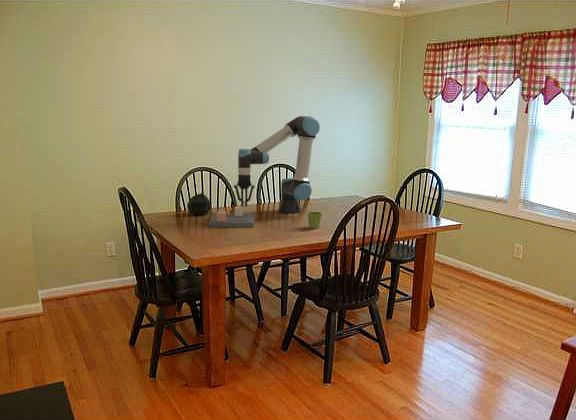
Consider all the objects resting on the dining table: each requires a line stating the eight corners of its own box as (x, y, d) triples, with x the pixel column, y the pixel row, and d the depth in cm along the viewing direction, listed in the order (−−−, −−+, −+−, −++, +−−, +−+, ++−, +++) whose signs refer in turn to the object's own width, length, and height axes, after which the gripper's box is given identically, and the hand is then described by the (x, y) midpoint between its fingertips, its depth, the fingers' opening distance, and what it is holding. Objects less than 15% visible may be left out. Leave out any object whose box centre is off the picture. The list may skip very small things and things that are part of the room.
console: (254, 218, 321) (254, 213, 321) (253, 227, 298) (253, 222, 297) (212, 218, 320) (212, 213, 319) (209, 227, 296) (209, 222, 296)
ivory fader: (243, 214, 318) (243, 206, 317) (242, 216, 312) (242, 208, 311) (235, 214, 318) (235, 206, 317) (234, 216, 312) (234, 208, 311)
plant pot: (311, 229, 295) (311, 215, 293) (303, 226, 303) (303, 212, 301) (324, 228, 299) (325, 214, 297) (316, 225, 307) (317, 211, 305)
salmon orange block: (226, 219, 303) (226, 211, 302) (225, 221, 297) (225, 213, 296) (217, 219, 303) (217, 211, 302) (217, 221, 297) (217, 213, 296)
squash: (184, 204, 337) (188, 189, 326) (206, 203, 343) (210, 189, 332) (187, 221, 329) (191, 207, 318) (210, 220, 335) (214, 206, 324)
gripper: (254, 173, 314) (254, 210, 319) (233, 173, 313) (233, 210, 318) (254, 175, 307) (254, 213, 311) (233, 174, 306) (233, 212, 311)
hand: (244, 211), depth 315 cm, fingers closed
